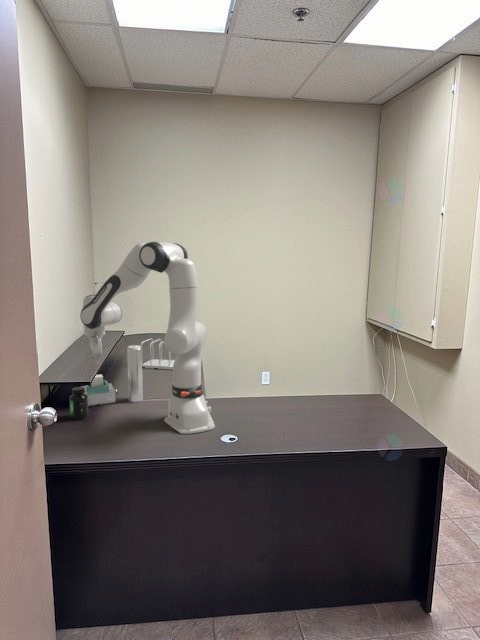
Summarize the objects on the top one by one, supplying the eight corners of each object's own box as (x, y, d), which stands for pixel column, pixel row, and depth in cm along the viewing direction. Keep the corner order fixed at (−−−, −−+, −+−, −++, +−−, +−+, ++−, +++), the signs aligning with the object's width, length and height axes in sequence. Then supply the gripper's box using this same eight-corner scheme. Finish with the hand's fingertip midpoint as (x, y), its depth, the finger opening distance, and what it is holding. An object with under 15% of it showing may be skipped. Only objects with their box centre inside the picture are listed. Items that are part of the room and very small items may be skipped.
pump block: (103, 390, 187) (103, 377, 186) (88, 391, 185) (88, 378, 184) (102, 386, 192) (102, 374, 191) (88, 388, 189) (87, 375, 188)
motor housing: (120, 401, 186) (119, 385, 185) (82, 406, 180) (81, 389, 179) (115, 392, 199) (115, 377, 198) (80, 397, 193) (79, 381, 192)
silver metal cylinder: (139, 402, 185) (137, 347, 182) (126, 401, 187) (124, 347, 183) (145, 398, 192) (144, 345, 188) (132, 397, 193) (130, 344, 190)
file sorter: (189, 363, 257) (189, 339, 255) (179, 371, 240) (179, 344, 238) (152, 361, 262) (151, 337, 260) (139, 368, 246) (139, 342, 243)
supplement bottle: (70, 421, 164) (69, 392, 162) (69, 415, 170) (68, 387, 168) (89, 418, 166) (87, 389, 165) (87, 413, 173) (86, 385, 171)
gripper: (104, 333, 177) (106, 365, 178) (99, 327, 195) (101, 356, 197) (89, 334, 174) (90, 367, 176) (85, 328, 193) (87, 357, 194)
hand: (96, 361), depth 187 cm, fingers open, 8 cm apart
